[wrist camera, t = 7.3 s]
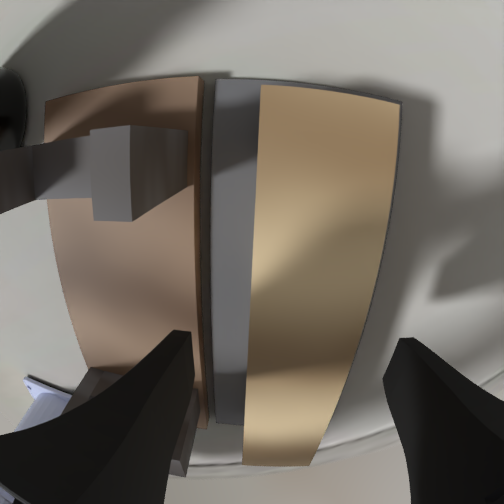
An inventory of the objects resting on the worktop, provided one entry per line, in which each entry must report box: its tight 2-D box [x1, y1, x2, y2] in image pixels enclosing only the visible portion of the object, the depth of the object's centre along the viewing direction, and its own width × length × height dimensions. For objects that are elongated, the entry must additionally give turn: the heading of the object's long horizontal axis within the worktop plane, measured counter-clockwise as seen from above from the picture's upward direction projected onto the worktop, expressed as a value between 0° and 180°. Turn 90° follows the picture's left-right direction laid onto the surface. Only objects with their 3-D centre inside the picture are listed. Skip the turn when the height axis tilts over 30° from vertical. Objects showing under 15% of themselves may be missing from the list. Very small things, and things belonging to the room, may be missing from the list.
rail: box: [242, 85, 400, 466], centre depth 10 cm, size 16×4×4 cm, turn 177°
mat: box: [210, 79, 402, 425], centre depth 12 cm, size 18×7×1 cm, turn 177°
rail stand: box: [0, 76, 209, 477], centre depth 10 cm, size 18×7×6 cm, turn 177°
